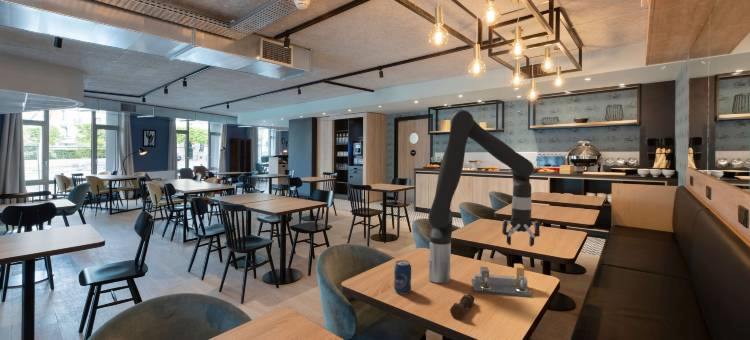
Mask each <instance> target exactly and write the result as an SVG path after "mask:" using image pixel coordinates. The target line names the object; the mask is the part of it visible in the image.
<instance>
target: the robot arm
mask: <svg viewBox="0 0 750 340" xmlns="http://www.w3.org/2000/svg"><path fill="white" fill-rule="evenodd" d="M469 138H470V139H471V140H473V141H474V142H475V143H477V144H478V145H479V146H480V147H481V148H483V150H485V151H486V152H487V153H488V154H490V155H491V156H492V157H493V158H495V159H496V160H497V161H499V162H500V163H501V164H504V165H505V166H507V167H508V168H510V170H512V172H511V173H512V183H513V187H512V199H511V218H510V220H506V219H503V221H502V230H501V231H502V234H503V235H504V236H506V243H507V245H508V246H511V245H512V235H513V234H514V233H515V232H519V233H520V232H523V233H526V232H527V233H528V235H529V243H528V244H529V247H533V246H534V245H535V238H536V237H540V233H541V232H540V223H539V221H536V220H534V221H532V204H533V203H532V184H531V182H530V181H531V179H530V178H531V177H530V176H532V174H533V173H534V171H535V167H534V164H533V162H532V161H531V160H529V159H527V158H526V157H524V155H521V154H520V153H518V152H516V151H515V150H514V149H513V148H512V147H511V146H509V145H508V144H506V143H505V142H504V141H503V140H501V139H500V138H498V137H497V136H496V135H495V136H494V135H493V134H491V132H489V131H487V130H485V129H484V128H483V127H482V126H481V125H480V124H478V123H477V121H475V119H474V117H473V114H472V113H471V112H469V111H468V110H464V109H461V110H458V111H456V112H454V113H453V115H452V116H451V118H450V127H449V136H448V142H447V145H446V147H445V151H444V153H443V156H442V159H441V162H440V166H439V171H438V175H437V182H436V187H435V188H436V189H435V194H434V198H433V201H432V204H431V207H430V209H429V213H428V222H429V223H430V225H431V228H430V229H431V230H430V234H429V258H428V261H429V262H428V263H429V264H428V281H429V282H433V283H436V284H447V283H449V282H450V281H451V254H452V253H451V251H452V250H451V247H452V246H451V245H452V234H453V213H452V210H451V204H452V200H453V197H454V196H455V192H456V190H457V188H458V185H459V183H460V180H461V176H462V172H463V167H464V162H465V153H466V147H467V146H466V145H467V143H468V139H469ZM509 225H510V226H511V227H510V228H509V229H508V226H509ZM531 226H533V227H534V233H533V231H532V230H531V229H530V228H531ZM507 230H508V231H507Z"/></svg>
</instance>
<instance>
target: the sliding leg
mask: <svg viewBox="0 0 750 340" xmlns="http://www.w3.org/2000/svg"><path fill="white" fill-rule="evenodd" d="M525 270H526V269H525V267H524V265H523V264H522V263H514V264H513V276H515V278H516V279H519V280H521V288H522V287H523V280H524V277H525Z"/></svg>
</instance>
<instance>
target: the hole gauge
mask: <svg viewBox="0 0 750 340" xmlns="http://www.w3.org/2000/svg"><path fill="white" fill-rule="evenodd" d="M479 269H480V271H479V273H474V278H471V284H472V287H473V291H474V293H475V294H486V295H487V294H489V295H500V296H501V295H502V296H514V297H524V298H525V297H527V298H533V294H532V292H531V291H530V289H529V287H528V279H527V278H528V277H525V276H524V280H523V287H522V288H521V280H519V279H516V278H515V276H514V275H513V276H512V275H499V274H490V270H489V267H488V266H480V268H479Z"/></svg>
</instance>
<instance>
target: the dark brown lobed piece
mask: <svg viewBox="0 0 750 340" xmlns="http://www.w3.org/2000/svg"><path fill="white" fill-rule="evenodd" d="M459 301H460V302H459V303H457V302H454V303H453V304H452V306H451V307H450V309H449V311H450V314H451V316H452V318H453V319H455V320H458V321H459V320H460V321H463V319H464V318H465V317H466V315H467V314H468V311H467V310H468V309H471V308H472V306H473V305H474V304H475V297H474V295H472V294H470V293H468V294H463V296H462V297H461V299H460V300H459Z"/></svg>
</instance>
